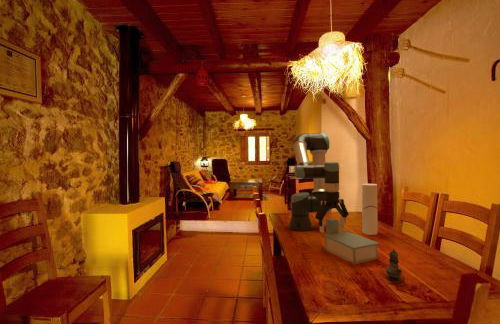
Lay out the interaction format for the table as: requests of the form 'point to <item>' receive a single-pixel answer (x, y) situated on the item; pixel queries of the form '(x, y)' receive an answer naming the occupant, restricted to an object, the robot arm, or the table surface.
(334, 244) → the tub
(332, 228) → the lid
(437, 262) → the table surface
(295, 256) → the table surface
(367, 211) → the container
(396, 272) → the dark statuette
